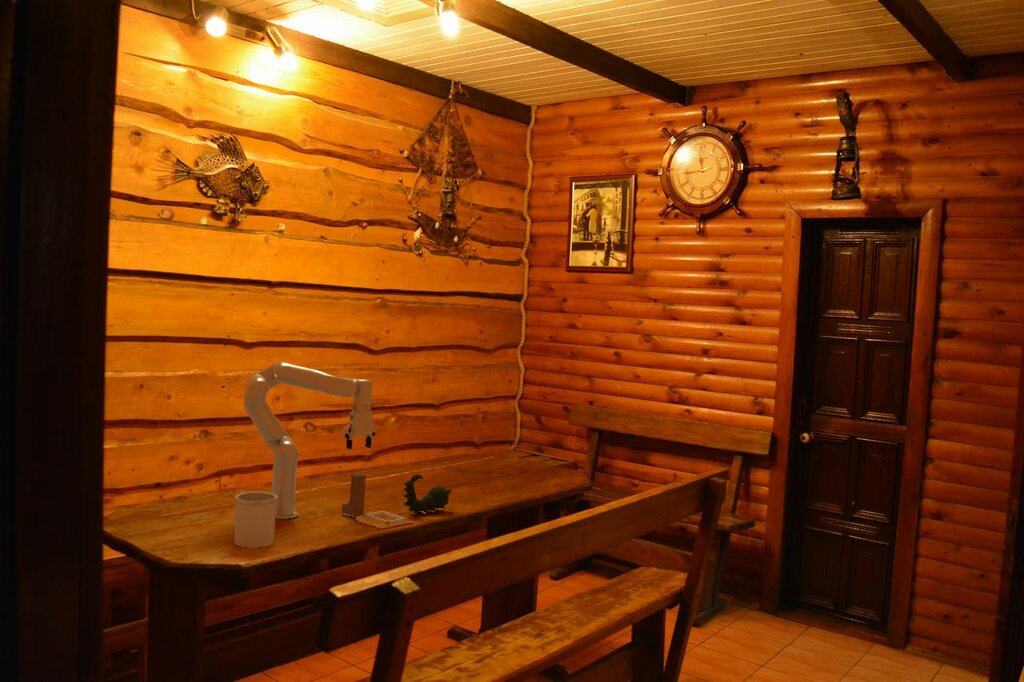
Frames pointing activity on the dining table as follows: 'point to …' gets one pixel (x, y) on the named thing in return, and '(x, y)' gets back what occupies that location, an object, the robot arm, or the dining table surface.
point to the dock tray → (373, 514)
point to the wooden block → (356, 496)
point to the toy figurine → (425, 497)
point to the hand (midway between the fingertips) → (358, 448)
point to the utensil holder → (255, 519)
